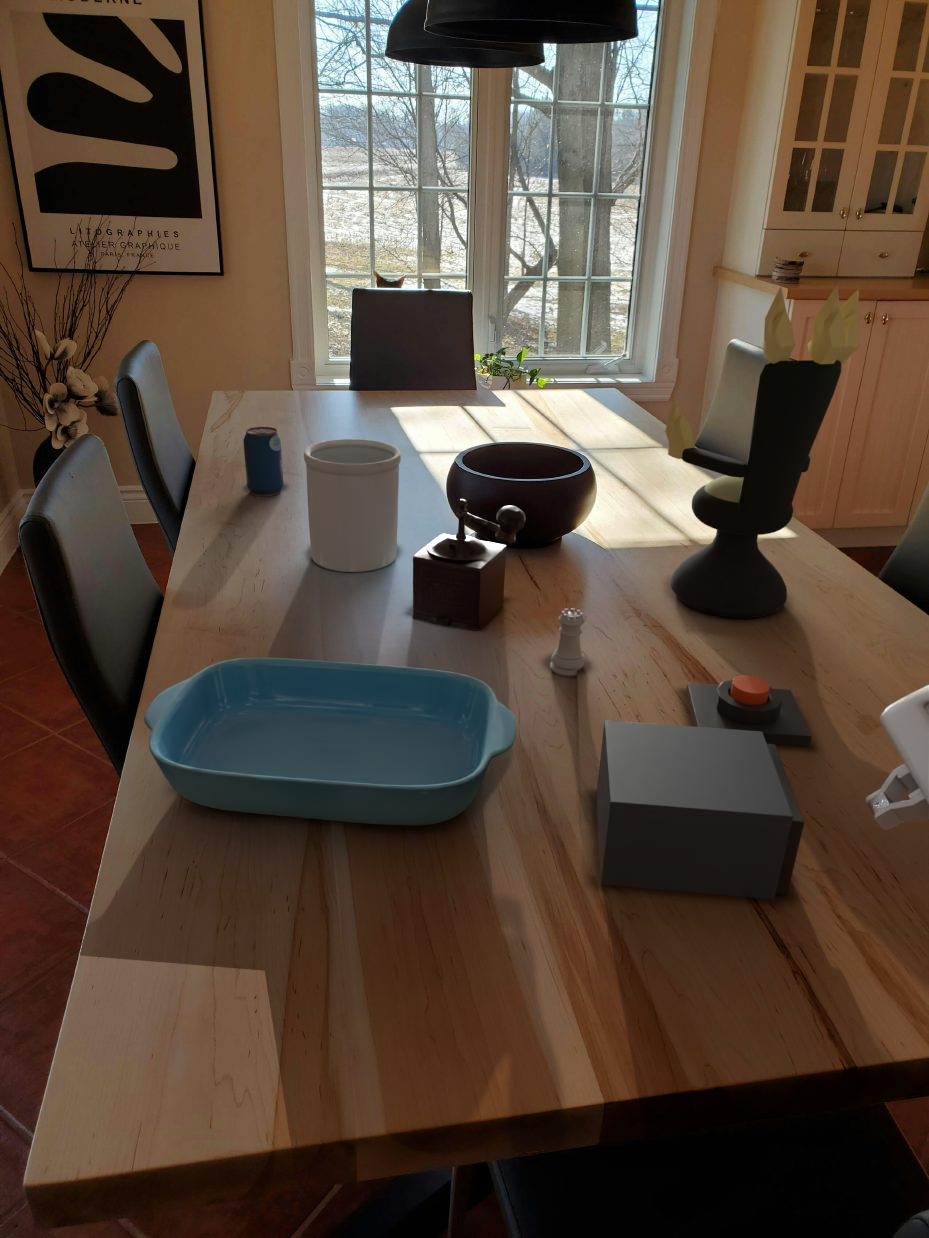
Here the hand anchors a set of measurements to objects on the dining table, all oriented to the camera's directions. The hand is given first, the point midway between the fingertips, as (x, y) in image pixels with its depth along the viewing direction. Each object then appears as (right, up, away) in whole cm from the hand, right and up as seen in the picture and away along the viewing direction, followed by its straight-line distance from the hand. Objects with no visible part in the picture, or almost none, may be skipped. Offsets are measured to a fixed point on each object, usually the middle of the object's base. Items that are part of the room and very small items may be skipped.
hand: (874, 815), depth 79 cm
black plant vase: (+4, +19, +54) cm, 57 cm away
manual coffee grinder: (-35, +18, +48) cm, 61 cm away
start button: (-4, +8, +22) cm, 24 cm away
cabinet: (-16, -4, +4) cm, 17 cm away
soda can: (-75, +42, +95) cm, 128 cm away
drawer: (-14, -3, +3) cm, 15 cm away
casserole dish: (-49, +1, +14) cm, 51 cm away
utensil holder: (-54, +27, +66) cm, 90 cm away
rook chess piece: (-23, +11, +34) cm, 43 cm away
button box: (-4, +5, +23) cm, 24 cm away
